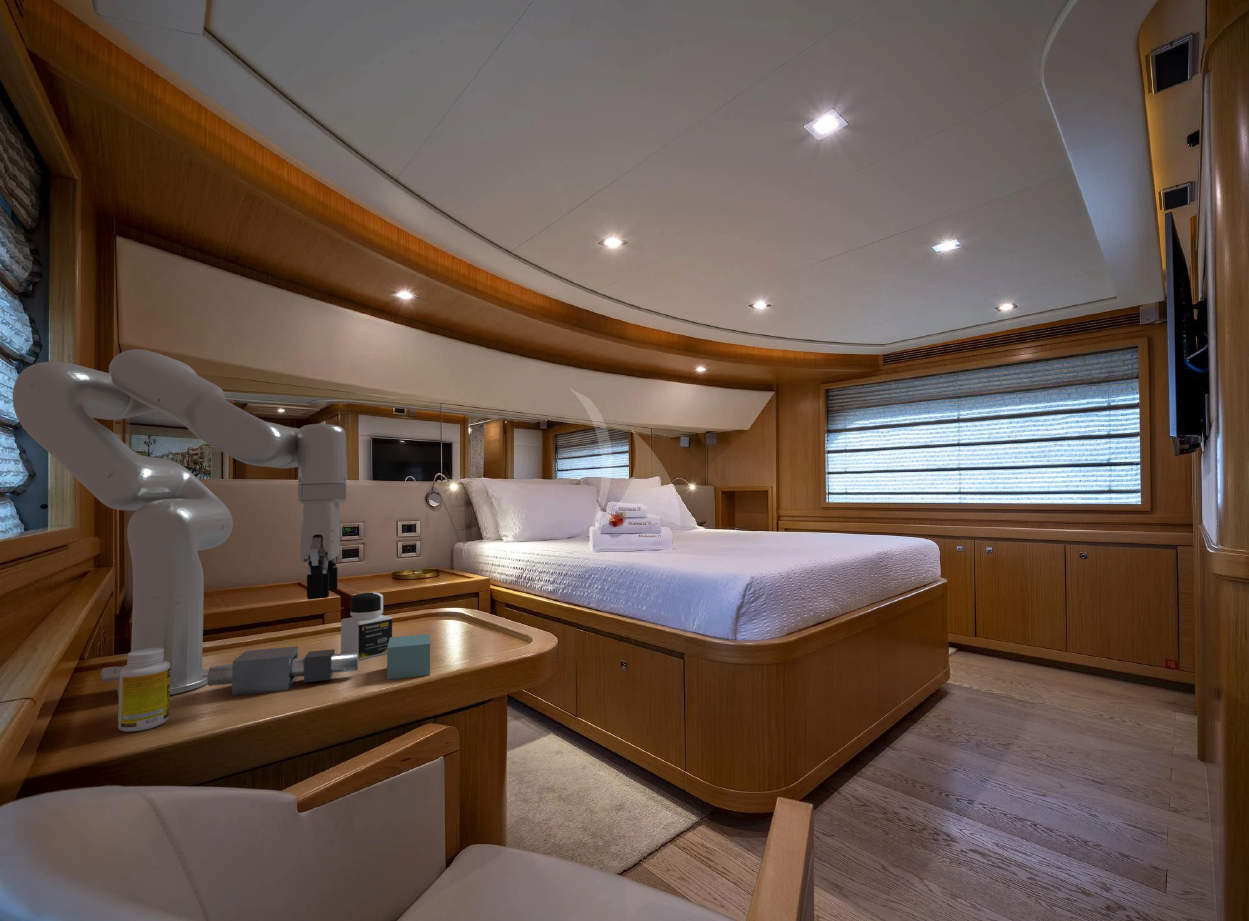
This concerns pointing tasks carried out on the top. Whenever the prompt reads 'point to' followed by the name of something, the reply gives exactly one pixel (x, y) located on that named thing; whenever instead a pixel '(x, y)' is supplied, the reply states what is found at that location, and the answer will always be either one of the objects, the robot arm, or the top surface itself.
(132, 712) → the supplement bottle
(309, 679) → the grey long rod
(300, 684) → the top surface
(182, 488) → the robot arm
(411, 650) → the block
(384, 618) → the medicine bottle
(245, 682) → the sleeve
